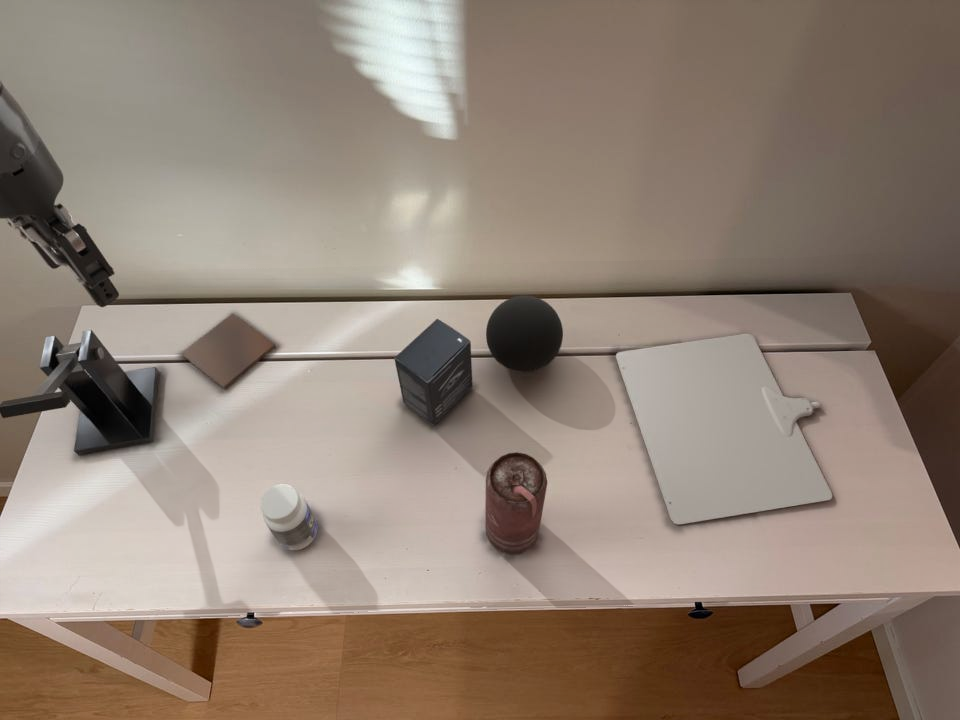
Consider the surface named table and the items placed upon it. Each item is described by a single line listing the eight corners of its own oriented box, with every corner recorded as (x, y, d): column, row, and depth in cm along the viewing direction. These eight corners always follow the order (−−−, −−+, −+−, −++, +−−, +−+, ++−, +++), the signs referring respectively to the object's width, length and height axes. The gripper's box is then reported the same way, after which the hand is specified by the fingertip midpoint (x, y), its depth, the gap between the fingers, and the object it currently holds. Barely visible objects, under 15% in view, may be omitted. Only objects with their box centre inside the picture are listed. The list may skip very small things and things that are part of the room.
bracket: (153, 442, 83) (102, 380, 72) (78, 455, 82) (14, 395, 71) (159, 371, 89) (112, 305, 78) (89, 383, 88) (32, 317, 77)
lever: (68, 412, 67) (58, 391, 66) (4, 423, 66) (-6, 402, 65) (108, 357, 78) (101, 338, 77) (55, 366, 77) (47, 347, 76)
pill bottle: (325, 536, 76) (309, 506, 69) (287, 559, 74) (267, 531, 68) (307, 504, 78) (290, 472, 71) (270, 525, 77) (249, 495, 70)
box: (442, 365, 90) (437, 315, 81) (474, 388, 88) (473, 338, 79) (401, 404, 86) (392, 355, 77) (433, 428, 84) (427, 381, 75)
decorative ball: (493, 322, 94) (494, 274, 86) (563, 333, 93) (571, 285, 85) (479, 380, 88) (478, 334, 80) (553, 392, 87) (560, 347, 79)
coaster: (224, 389, 88) (223, 387, 87) (182, 356, 91) (180, 353, 90) (276, 346, 92) (275, 344, 91) (233, 315, 95) (232, 313, 95)
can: (512, 568, 74) (517, 520, 62) (474, 527, 76) (473, 473, 65) (551, 534, 76) (562, 480, 65) (513, 495, 79) (518, 437, 67)
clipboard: (864, 496, 78) (868, 491, 77) (671, 527, 77) (674, 523, 76) (777, 331, 93) (780, 326, 92) (613, 355, 91) (614, 350, 90)
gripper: (-99, 137, 55) (12, 272, 69) (-10, 206, 50) (92, 338, 63) (-13, 96, 59) (77, 231, 72) (78, 157, 54) (158, 291, 67)
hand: (84, 281), depth 68 cm, fingers open, 8 cm apart
